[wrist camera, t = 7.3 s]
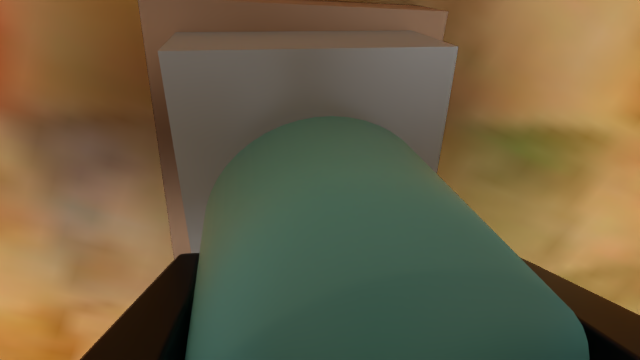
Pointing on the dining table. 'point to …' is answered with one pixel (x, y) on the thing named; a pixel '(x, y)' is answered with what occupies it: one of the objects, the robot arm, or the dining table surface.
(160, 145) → the walnut base block
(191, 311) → the robot arm
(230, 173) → the teal drum
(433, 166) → the slate top block
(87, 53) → the dining table surface
